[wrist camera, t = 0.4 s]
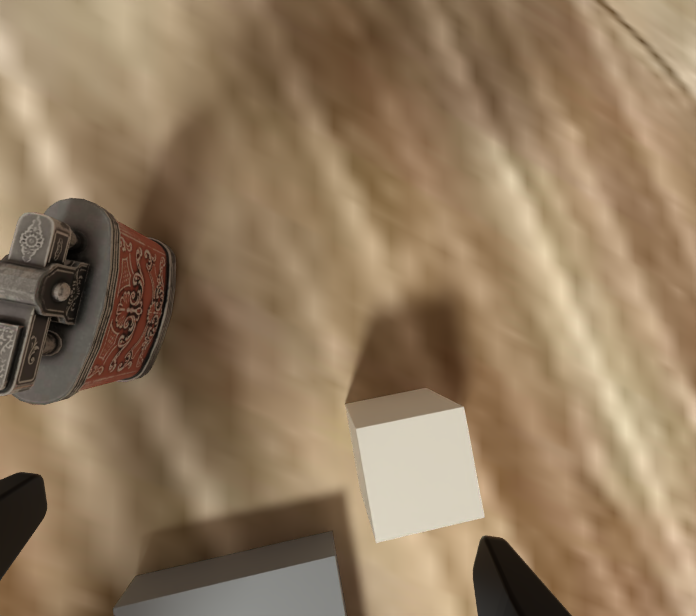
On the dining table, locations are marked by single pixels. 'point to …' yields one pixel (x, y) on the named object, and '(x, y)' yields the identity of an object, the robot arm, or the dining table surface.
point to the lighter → (80, 302)
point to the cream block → (413, 463)
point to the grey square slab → (245, 584)
